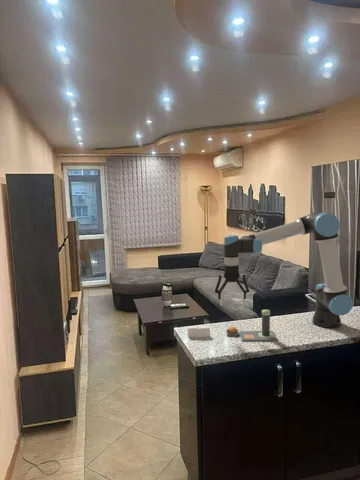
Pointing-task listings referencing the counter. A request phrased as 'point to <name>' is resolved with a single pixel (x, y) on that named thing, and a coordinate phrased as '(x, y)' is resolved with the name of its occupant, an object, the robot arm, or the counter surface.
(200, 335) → the white block piece
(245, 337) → the board
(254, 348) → the counter surface
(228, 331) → the button housing
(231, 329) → the button
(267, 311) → the marker
